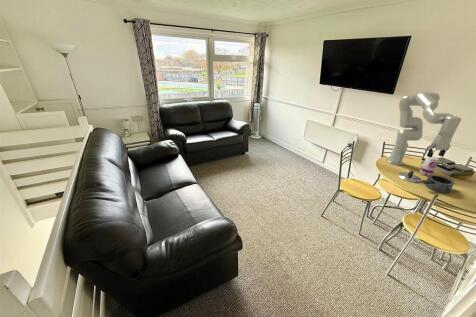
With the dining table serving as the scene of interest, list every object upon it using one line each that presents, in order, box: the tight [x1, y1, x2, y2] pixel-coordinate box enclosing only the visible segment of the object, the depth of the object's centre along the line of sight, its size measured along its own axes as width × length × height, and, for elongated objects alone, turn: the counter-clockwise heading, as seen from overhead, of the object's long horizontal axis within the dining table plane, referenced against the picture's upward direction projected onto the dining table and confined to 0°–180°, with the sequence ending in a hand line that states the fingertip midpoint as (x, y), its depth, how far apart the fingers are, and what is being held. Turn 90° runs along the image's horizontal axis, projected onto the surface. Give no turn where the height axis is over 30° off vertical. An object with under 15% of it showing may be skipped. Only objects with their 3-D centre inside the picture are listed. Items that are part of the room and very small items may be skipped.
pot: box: [421, 174, 455, 194], centre depth 152 cm, size 14×23×7 cm, turn 97°
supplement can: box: [419, 155, 440, 177], centre depth 168 cm, size 8×8×15 cm
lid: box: [397, 170, 422, 184], centre depth 165 cm, size 15×15×6 cm
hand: (434, 156), depth 149 cm, fingers open, 9 cm apart
